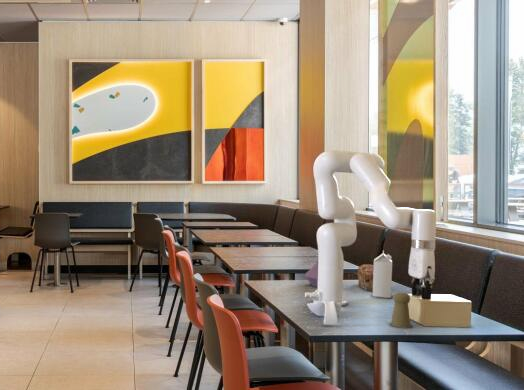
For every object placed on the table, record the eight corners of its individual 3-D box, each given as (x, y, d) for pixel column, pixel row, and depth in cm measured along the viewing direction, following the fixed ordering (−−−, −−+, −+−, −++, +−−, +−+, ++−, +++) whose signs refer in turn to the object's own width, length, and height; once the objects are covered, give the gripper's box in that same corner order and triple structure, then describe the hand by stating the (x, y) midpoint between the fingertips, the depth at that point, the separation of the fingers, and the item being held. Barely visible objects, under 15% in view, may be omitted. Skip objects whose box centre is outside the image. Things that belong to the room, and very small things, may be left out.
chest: (425, 326, 211) (425, 303, 210) (407, 317, 223) (408, 296, 223) (470, 327, 211) (471, 304, 211) (451, 318, 224) (451, 296, 223)
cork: (412, 328, 207) (413, 295, 207) (392, 326, 208) (394, 294, 208) (408, 324, 213) (409, 292, 213) (389, 322, 214) (390, 291, 214)
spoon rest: (304, 310, 231) (305, 291, 231) (337, 312, 230) (338, 292, 229) (313, 325, 208) (314, 304, 208) (350, 327, 206) (351, 305, 206)
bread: (357, 284, 293) (357, 263, 293) (380, 285, 291) (381, 264, 291) (364, 291, 275) (365, 268, 275) (389, 292, 273) (390, 269, 273)
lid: (423, 303, 210) (424, 288, 210) (406, 295, 223) (406, 282, 223) (471, 303, 211) (472, 289, 211) (451, 296, 223) (452, 283, 223)
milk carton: (372, 296, 262) (374, 251, 262) (372, 294, 269) (374, 250, 268) (390, 298, 260) (392, 252, 259) (390, 295, 266) (392, 251, 266)
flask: (308, 281, 298) (310, 239, 297) (344, 285, 290) (345, 242, 289) (298, 286, 284) (300, 242, 283) (336, 290, 275) (337, 245, 275)
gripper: (401, 242, 225) (399, 292, 225) (424, 247, 208) (422, 301, 208) (421, 242, 225) (419, 292, 226) (446, 248, 208) (444, 302, 208)
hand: (421, 296), depth 217 cm, fingers closed on lid, 6 cm apart
